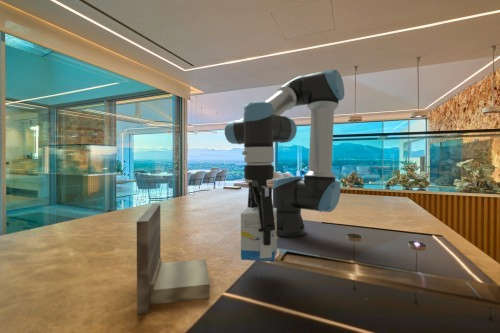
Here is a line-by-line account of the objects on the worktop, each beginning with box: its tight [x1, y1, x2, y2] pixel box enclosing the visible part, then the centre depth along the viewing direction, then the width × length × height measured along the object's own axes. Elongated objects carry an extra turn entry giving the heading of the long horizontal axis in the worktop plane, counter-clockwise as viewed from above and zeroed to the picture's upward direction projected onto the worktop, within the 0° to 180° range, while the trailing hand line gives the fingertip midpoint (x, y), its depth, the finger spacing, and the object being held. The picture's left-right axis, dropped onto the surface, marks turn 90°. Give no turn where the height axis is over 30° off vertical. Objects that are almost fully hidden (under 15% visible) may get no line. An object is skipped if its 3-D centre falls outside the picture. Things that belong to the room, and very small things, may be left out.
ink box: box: [240, 206, 278, 263], centre depth 65 cm, size 9×8×12 cm
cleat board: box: [136, 203, 211, 316], centre depth 59 cm, size 14×20×18 cm
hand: (259, 248), depth 65 cm, fingers closed on ink box, 11 cm apart
